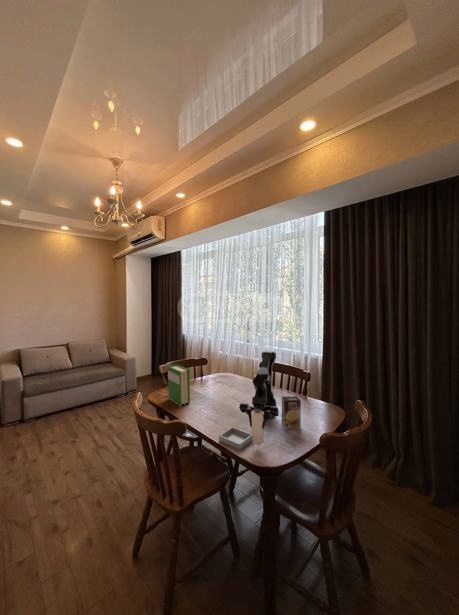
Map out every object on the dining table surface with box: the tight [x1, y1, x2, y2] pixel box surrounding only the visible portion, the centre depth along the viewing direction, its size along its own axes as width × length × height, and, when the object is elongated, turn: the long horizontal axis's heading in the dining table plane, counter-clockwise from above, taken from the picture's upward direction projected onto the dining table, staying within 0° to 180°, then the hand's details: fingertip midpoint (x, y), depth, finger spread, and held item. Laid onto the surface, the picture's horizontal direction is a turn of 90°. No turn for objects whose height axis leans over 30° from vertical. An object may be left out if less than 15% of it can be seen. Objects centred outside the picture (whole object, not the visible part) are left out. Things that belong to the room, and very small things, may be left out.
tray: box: [218, 426, 252, 452], centre depth 126 cm, size 11×13×3 cm
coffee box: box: [281, 395, 302, 430], centre depth 138 cm, size 9×6×16 cm
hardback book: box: [167, 364, 191, 407], centre depth 176 cm, size 18×7×24 cm, turn 39°
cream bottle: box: [251, 408, 264, 445], centre depth 119 cm, size 5×5×16 cm
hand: (256, 427), depth 117 cm, fingers closed on cream bottle, 5 cm apart
